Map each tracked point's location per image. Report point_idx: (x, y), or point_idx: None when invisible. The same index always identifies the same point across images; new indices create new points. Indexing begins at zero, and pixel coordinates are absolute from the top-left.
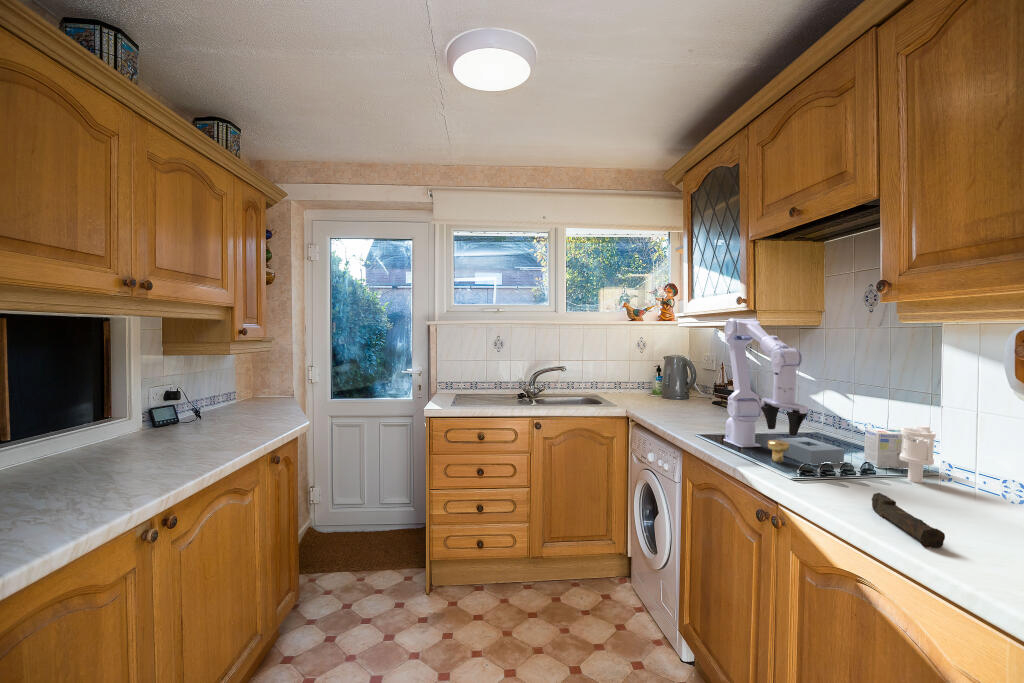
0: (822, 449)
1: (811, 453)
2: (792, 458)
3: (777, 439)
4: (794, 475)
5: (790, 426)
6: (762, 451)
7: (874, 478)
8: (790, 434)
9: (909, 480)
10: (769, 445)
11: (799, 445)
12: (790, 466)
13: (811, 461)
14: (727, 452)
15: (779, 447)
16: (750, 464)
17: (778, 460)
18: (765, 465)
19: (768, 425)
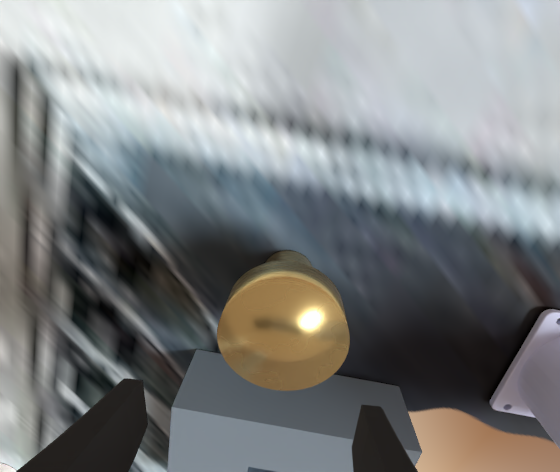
0: (178, 464)
1: (177, 396)
2: None
3: (405, 448)
4: (87, 150)
5: (59, 453)
6: (437, 350)
7: (29, 405)
8: (125, 384)
9: (3, 464)
10: (303, 274)
11: (268, 440)
12: (209, 262)
13: (190, 366)
14: (542, 154)
15: (238, 288)
16: (303, 76)
17: (267, 262)
18: (259, 152)
19: (381, 435)
